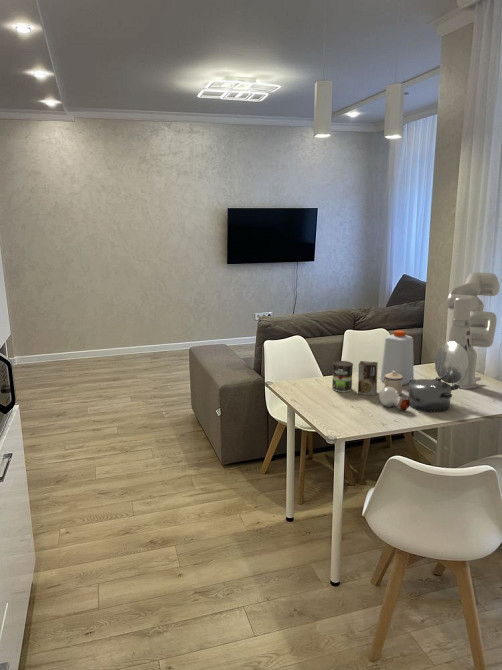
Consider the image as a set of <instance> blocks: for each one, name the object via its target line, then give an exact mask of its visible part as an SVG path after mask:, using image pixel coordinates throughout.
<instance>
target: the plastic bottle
mask: <svg viewBox="0 0 502 670" xmlns="http://www.w3.org/2000/svg"><path fill="white" fill-rule="evenodd" d="M392 371H396V373H398V374H400V375H402V376H403V379H402V386H404V385H407V384H408V385H409V383H410V380H414V379H415V378H414V338H413V337H412V336H410V335H407V334H406V331H404V330H401V329H400V330H399V329H397V330H394V331H393V333H392V334H390V335H388V336H386V337H385V339H384V347H383V355H382V363H381V371H380V381H382V382H383V383H384V377H385V375H386V374H389V373H392Z"/></svg>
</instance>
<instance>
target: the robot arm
mask: <svg viewBox="0 0 502 670" xmlns="http://www.w3.org/2000/svg"><path fill="white" fill-rule="evenodd" d="M499 281H500V280H499V278H498V276H497V275H496V274H495V273H492V272H476V271H475V272H471V273H469V274H468V275H467V277H466V279H465V282H464V284H461V285H459V286H456V287H454V288H452V289H451V290H450V292H449V294H448V296H447V299H446V307H447V308H448V309H449V310H453V312H452V313H453V315H452V324H451V327H450V331H449V338H448V342H457V343H459V344H461V345H462V346H463V347H464V348H465V349H466V351H467V353H468V357H469V367H468V371H467V373H466V375H465V377H464V378H463V379H462V380H461V381H459V382H457V383H451V386H454V384H456V385H459V386H460V388H459V389H464V390H473V389H477V388H478V383H477V382H478V381H481V380H482V378H481V376H479V377H478V376H477V377H476V371H477V370H476V369H477V357H478V354H477V351H476V349H475V347H479V348H491V347H492V345H493V343H494V339H495V332H496V327H497V320H498V319H497V315H496V313H495V312H492V311H484V308H485V305H484V303H483V301H482V299H480V298H479V297H478V296H485V297H488V296H489V297H495V296H497V295H498V294H499V293H500V282H499Z"/></svg>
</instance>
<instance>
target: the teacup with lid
mask: <svg viewBox="0 0 502 670" xmlns="http://www.w3.org/2000/svg"><path fill="white" fill-rule="evenodd" d="M402 379H403V376H402V375H400V374H398V373H396V371H392V373H389V374H386V375H385V377H384V382H383V383H384V388H385V387H393V388H394V389H396V390H397V391H398V393H399V396H400V395H402V393H403V392H402V390H403V385H402Z"/></svg>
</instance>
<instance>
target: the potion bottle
mask: <svg viewBox="0 0 502 670" xmlns="http://www.w3.org/2000/svg"><path fill="white" fill-rule="evenodd" d="M378 399H379V401H380V403H381V404H382V405H384V406H385V407H390V408H392V407H393V406H396V408H397V409H398V410H400V411H403V412H406V411H407V409H409V407H410V401H409V400H408V399H407V396H403V397H401V396H400V395H399V393H398V391H397V390H396V389H394V388H393V387H385V386H384V388H382V389H381V390H380V391H379V393H378Z"/></svg>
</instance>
